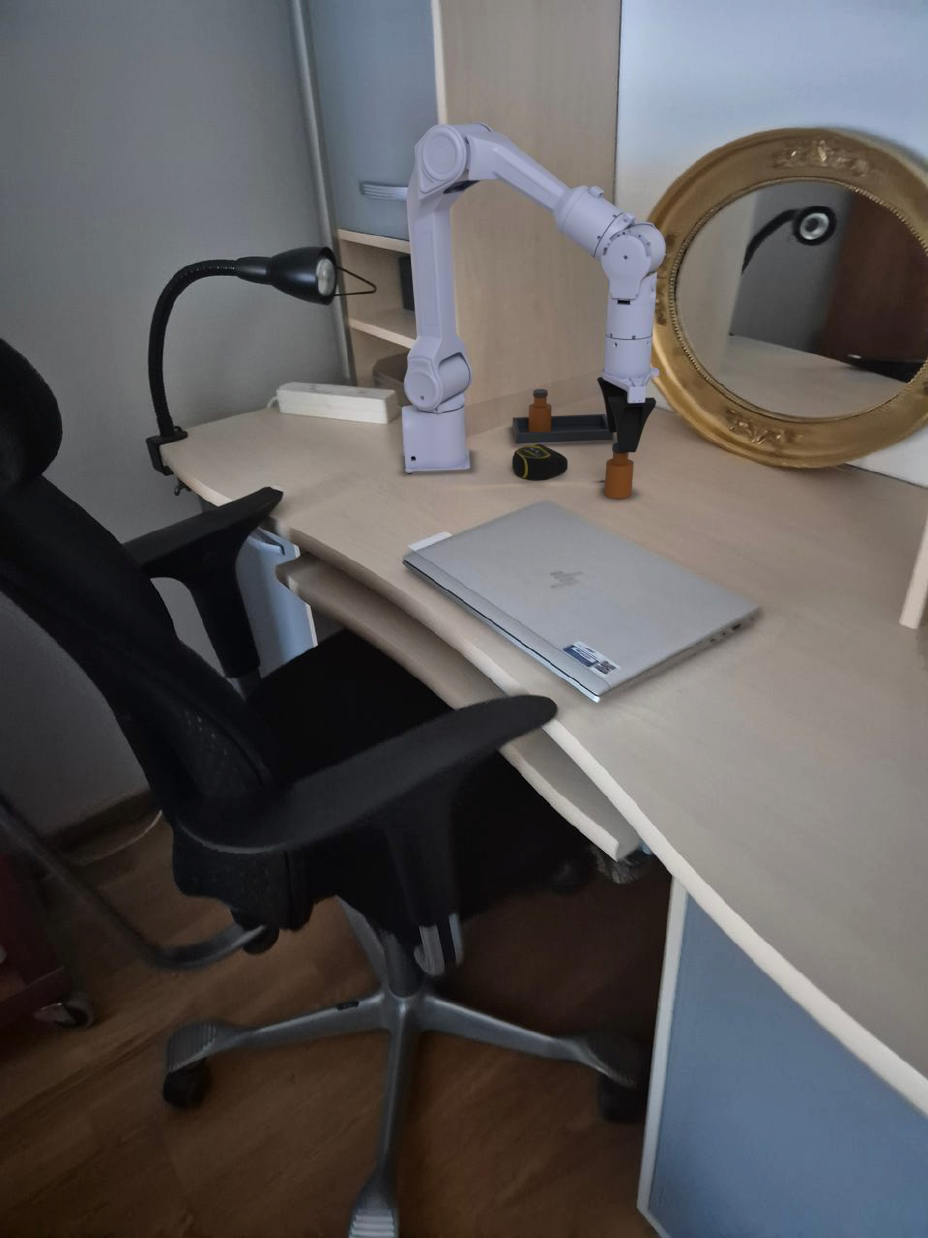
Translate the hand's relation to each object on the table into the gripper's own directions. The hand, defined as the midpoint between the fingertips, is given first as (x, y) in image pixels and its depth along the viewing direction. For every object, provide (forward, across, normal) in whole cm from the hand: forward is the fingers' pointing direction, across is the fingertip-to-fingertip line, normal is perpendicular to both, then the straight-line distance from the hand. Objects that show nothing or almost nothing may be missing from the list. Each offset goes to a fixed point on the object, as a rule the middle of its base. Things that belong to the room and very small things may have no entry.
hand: (621, 441), depth 106 cm
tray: (+7, +24, +5) cm, 25 cm away
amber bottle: (+7, 0, 0) cm, 7 cm away
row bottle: (+7, +24, +9) cm, 26 cm away
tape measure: (+8, +8, +10) cm, 15 cm away
